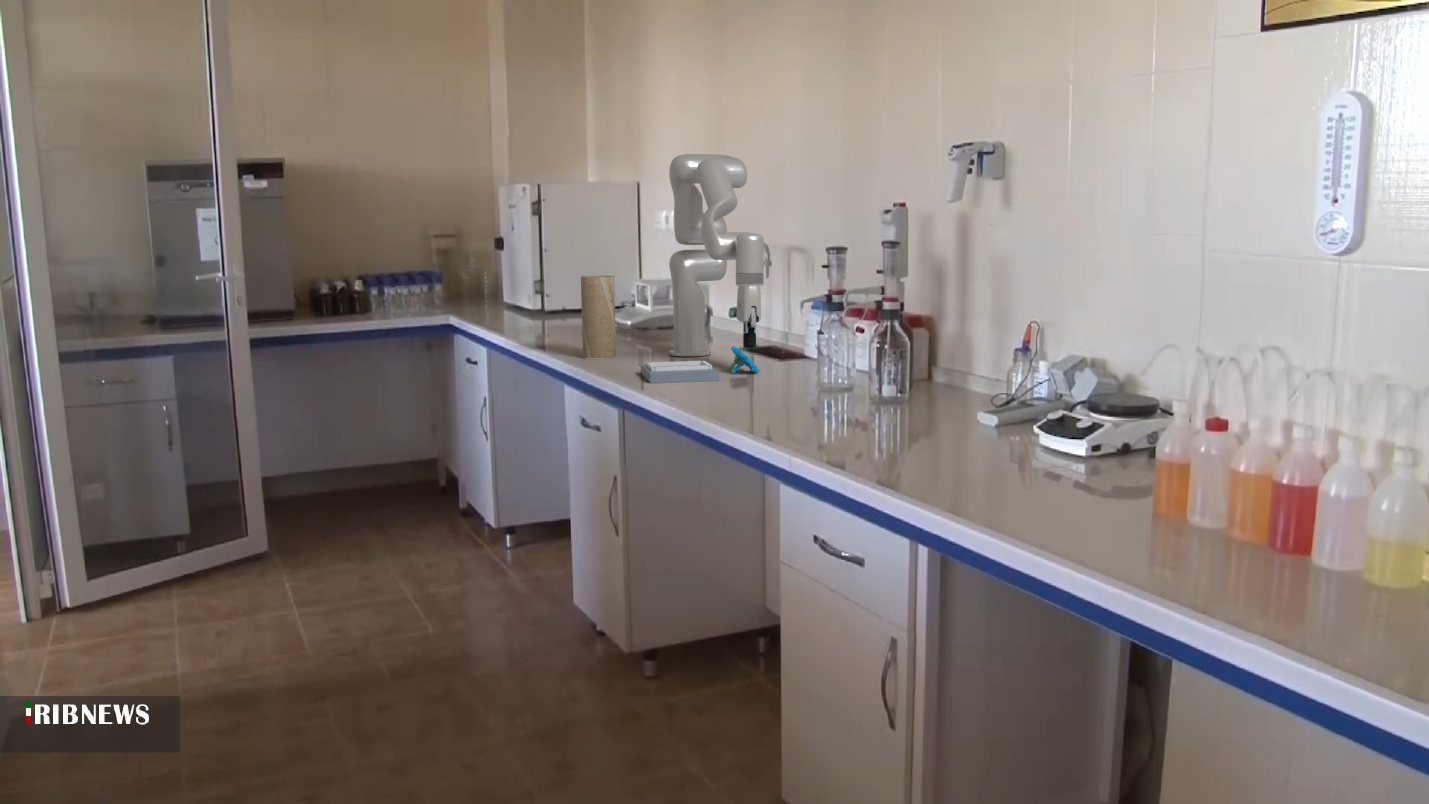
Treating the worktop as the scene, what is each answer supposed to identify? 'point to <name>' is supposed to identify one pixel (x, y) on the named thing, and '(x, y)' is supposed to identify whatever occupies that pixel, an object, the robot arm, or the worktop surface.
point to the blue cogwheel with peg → (741, 361)
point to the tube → (598, 316)
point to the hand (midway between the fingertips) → (749, 347)
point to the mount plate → (679, 371)
